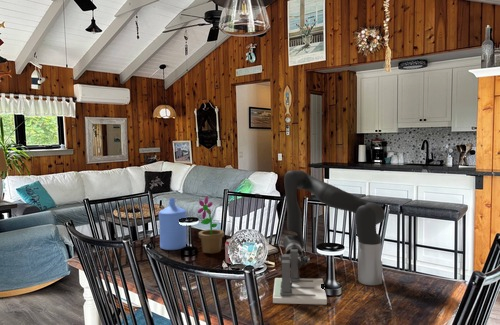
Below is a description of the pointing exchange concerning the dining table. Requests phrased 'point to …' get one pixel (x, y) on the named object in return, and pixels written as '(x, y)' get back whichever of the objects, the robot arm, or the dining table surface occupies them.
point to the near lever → (286, 279)
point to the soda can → (227, 251)
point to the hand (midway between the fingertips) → (294, 265)
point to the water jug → (172, 227)
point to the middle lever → (286, 257)
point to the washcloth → (271, 249)
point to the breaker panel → (301, 292)
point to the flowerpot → (209, 231)
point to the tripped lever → (294, 265)
